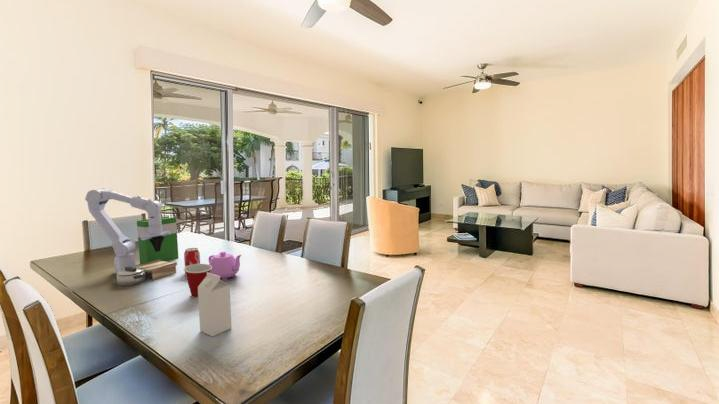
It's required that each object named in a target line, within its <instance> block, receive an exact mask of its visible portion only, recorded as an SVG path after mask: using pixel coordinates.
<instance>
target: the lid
mask: <svg viewBox="0 0 719 404" xmlns="http://www.w3.org/2000/svg"><path fill="white" fill-rule="evenodd" d="M143 271H144V268H142V267H129V266H128V267H125V269H123V270H120V271H118V272H117V275H121V276H126V275H134V274H138V273H141V272H143Z"/></svg>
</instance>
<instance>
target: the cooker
mask: <svg viewBox="0 0 719 404" xmlns="http://www.w3.org/2000/svg"><path fill="white" fill-rule="evenodd" d="M115 275H116V284H117V286H118V287H119V286H120V287H129V286H135V285H139V284H142V283H144V282H145V281H146V277H147V274H145V270H144V271H143V272H141V273H138V274H134V275H126V276H121V275H117V273H116V274H115Z"/></svg>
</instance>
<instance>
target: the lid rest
mask: <svg viewBox="0 0 719 404" xmlns="http://www.w3.org/2000/svg"><path fill="white" fill-rule="evenodd" d="M177 266H178V262H177V261H176V262H171V261H161V260H160V259H159V260H156V261H152V262H148V263H145V264H138V265H137V264H136V265H135V267H142V268H144V270H145V274H146V275H148V274H151V280H156V279H159V278H163V277H166V276H169V275H172V274H175V273H177Z"/></svg>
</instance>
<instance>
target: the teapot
mask: <svg viewBox="0 0 719 404" xmlns="http://www.w3.org/2000/svg"><path fill="white" fill-rule="evenodd" d="M241 256H242V254H238V255H237V256H236V257H235V256H234V255H233V253H227V252H226V251H221V252H219V254H216V255H214V254H212V255H210V256H209V257H208V265H211V266H212V269H211V270H210V273H211V274H214V275H217V276H220V279H221V280H222V281H223V282H226V281H228V278H230V277H231V278H233V277H234V278H235V277H237V275H236V274H237V273H239V271H240V266H241V263H240V261H241V260H240V258H241Z"/></svg>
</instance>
